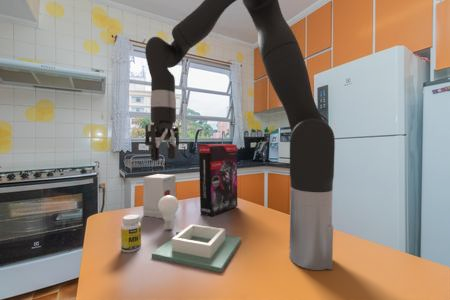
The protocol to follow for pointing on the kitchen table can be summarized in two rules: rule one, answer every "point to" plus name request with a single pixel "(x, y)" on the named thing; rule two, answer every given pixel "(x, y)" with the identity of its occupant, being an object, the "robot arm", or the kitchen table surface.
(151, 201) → the supplement box
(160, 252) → the board
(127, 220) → the supplement bottle
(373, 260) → the kitchen table surface
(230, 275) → the kitchen table surface
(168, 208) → the lightbulb
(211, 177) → the graphics card box
